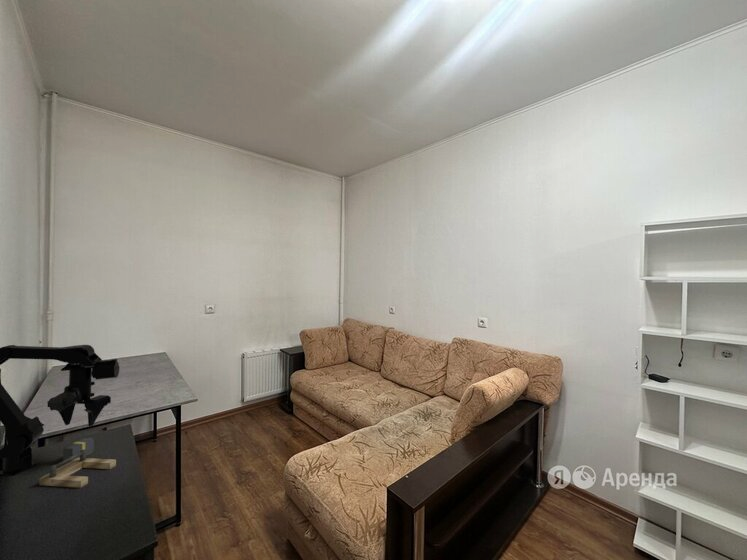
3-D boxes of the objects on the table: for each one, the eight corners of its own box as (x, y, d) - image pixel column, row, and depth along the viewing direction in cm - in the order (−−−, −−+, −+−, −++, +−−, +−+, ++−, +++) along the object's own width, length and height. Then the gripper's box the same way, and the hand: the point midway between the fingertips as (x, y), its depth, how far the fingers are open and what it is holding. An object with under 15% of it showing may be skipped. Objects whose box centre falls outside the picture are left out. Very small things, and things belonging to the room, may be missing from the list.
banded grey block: (62, 462, 101) (63, 447, 102) (84, 451, 108) (84, 437, 108) (72, 463, 101) (72, 448, 101) (93, 452, 108) (93, 438, 108)
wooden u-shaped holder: (39, 485, 90) (39, 467, 90) (78, 463, 101) (78, 448, 101) (80, 487, 89) (81, 470, 89) (115, 465, 100) (116, 450, 100)
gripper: (29, 388, 98) (27, 435, 98) (79, 389, 96) (78, 438, 96) (66, 377, 109) (65, 420, 109) (112, 379, 108) (111, 422, 107)
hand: (79, 425), depth 105 cm, fingers open, 9 cm apart
